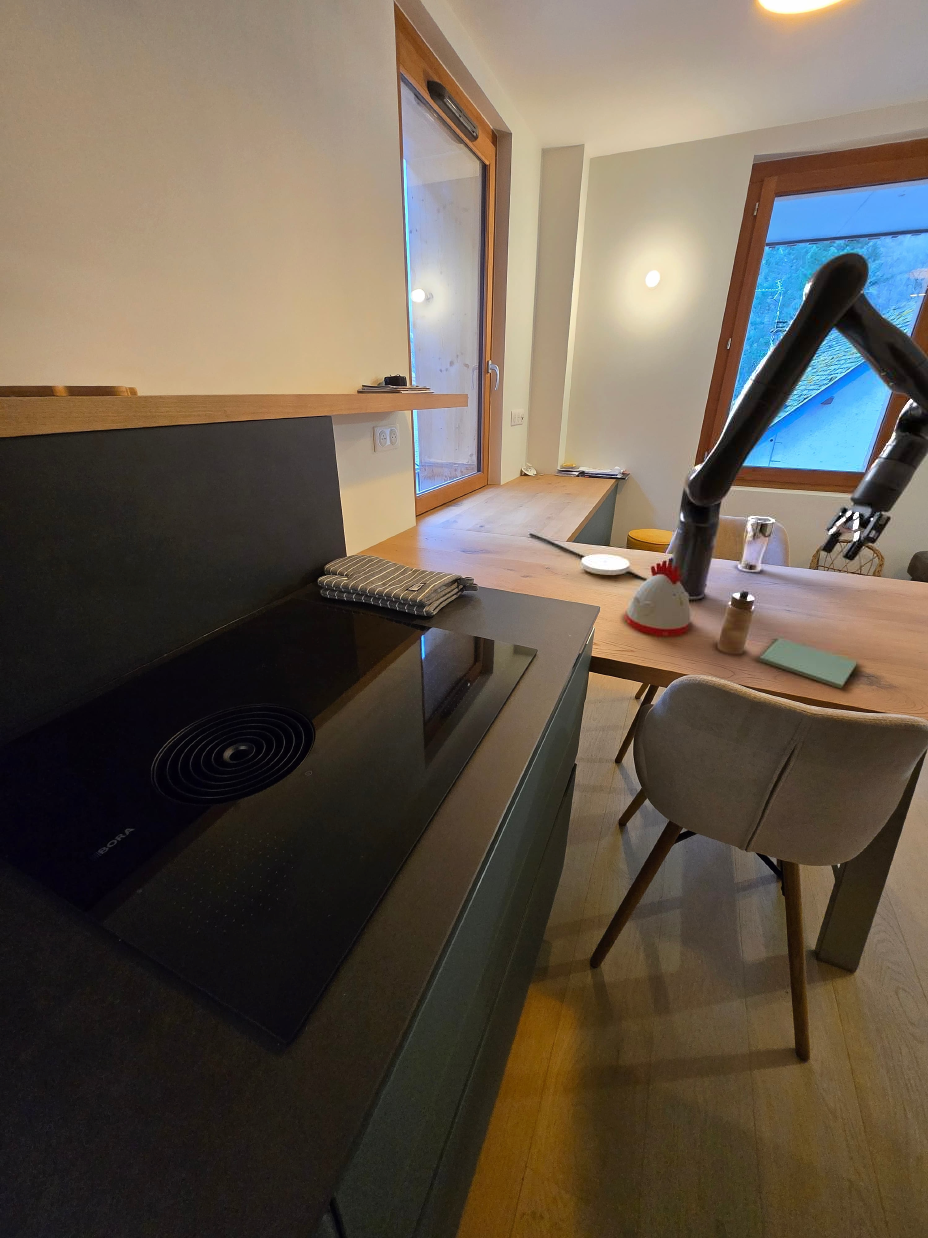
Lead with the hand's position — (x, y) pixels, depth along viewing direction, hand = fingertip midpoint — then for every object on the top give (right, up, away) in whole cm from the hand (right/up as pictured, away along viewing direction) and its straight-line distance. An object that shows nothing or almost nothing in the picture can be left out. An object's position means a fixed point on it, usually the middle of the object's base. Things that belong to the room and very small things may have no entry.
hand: (835, 555), depth 109 cm
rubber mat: (-14, -23, -10) cm, 29 cm away
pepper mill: (-26, -20, -5) cm, 34 cm away
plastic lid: (-40, +1, +39) cm, 56 cm away
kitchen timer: (-37, -15, +7) cm, 41 cm away
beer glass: (+3, +1, +38) cm, 38 cm away
